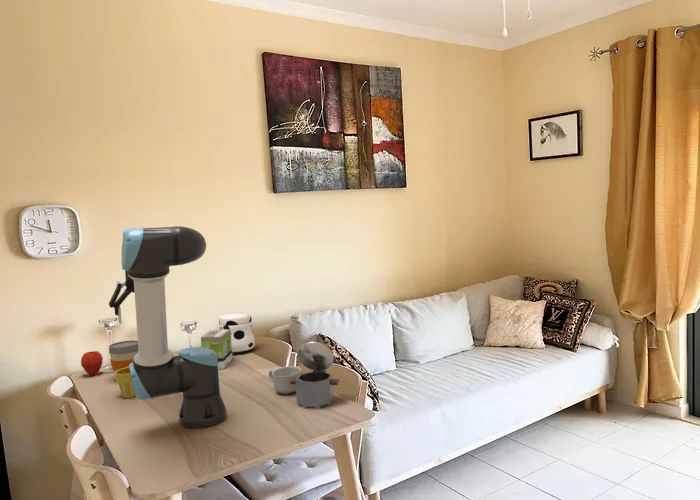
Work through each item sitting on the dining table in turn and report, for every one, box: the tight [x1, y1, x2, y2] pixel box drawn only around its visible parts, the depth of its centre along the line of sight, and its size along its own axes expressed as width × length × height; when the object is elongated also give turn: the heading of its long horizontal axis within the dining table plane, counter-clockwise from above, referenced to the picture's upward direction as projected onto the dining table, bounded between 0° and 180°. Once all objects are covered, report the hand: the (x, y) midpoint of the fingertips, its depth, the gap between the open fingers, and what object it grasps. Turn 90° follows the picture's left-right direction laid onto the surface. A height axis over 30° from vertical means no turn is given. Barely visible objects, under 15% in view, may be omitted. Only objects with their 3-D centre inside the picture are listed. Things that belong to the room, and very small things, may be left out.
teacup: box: [268, 365, 302, 395], centre depth 200 cm, size 14×11×8 cm
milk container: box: [218, 311, 256, 355], centre depth 263 cm, size 17×17×18 cm
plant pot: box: [114, 367, 137, 399], centre depth 205 cm, size 10×10×10 cm
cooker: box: [290, 369, 340, 409], centre depth 186 cm, size 13×17×9 cm
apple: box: [80, 350, 104, 376], centre depth 235 cm, size 9×8×11 cm
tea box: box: [200, 329, 233, 370], centre depth 240 cm, size 15×10×15 cm
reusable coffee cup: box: [108, 339, 138, 374], centre depth 227 cm, size 13×13×15 cm
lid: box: [297, 341, 334, 371], centre depth 189 cm, size 13×13×2 cm
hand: (138, 319), depth 211 cm, fingers open, 13 cm apart
